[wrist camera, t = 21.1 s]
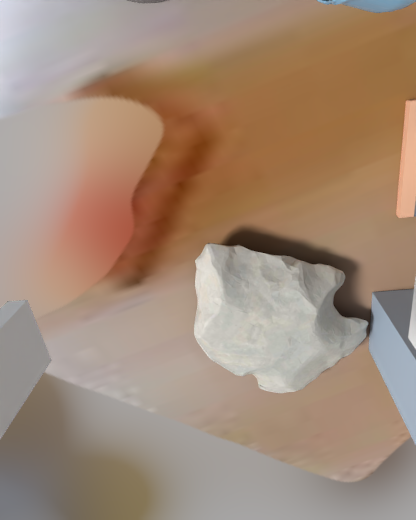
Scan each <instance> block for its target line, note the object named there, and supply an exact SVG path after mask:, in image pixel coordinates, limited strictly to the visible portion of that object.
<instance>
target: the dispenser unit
mask: <svg viewBox="0 0 416 520" xmlns="http://www.w3.org/2000/svg"><path fill="white" fill-rule="evenodd" d="M413 294H414V289H407V290H394V291H381V292H372V307H371V321H370V336H369V351H370V353H371V355H372V357H373V359H374V361H375V363H376V365H377V367H378V369H379V371H380V373H381V375H382V377H383V379H384V381H385V383H386V386H387V388H388V390H389V392H390V394H391V396H392V398H393V400H394V402H395V404H396V406H397V408H398V410H399V412H400V414H401V416H402V418H403V420H404V422H405V424H406V426H407V428H408V430H409V432H410V434H411V436H412V438H413V440H414V442H415V445H416V349H415V348H414V346H413V345H412V343H411V342H410V340H409V339H408V335H409V327H410V318H411V310H412V302H413Z"/></svg>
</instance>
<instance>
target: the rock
mask: <svg viewBox="0 0 416 520" xmlns="http://www.w3.org/2000/svg"><path fill="white" fill-rule="evenodd" d="M195 263H196V267H197V271H196V278H195V288H196V293H197V298H198V306H197V312H196V318H195V323H194V334H195V337H196V339H197V342H198V343H199V345H200V346H201V348H202V349H203V350H204V352H205V353H206V354H207V355H208V357H209V358H210V359H211V360H212V361H214V362H216V363H218V364H219V365H221V366H222V367H224V368H225V369H227V370H229V371H230V372H232V373H234V374H235V375H239V376H245V375H247V374H253V375H254V376H255V377H256V378H257V380H258V385H259V388H261V389H263V390H265V391H270V392H275V393H285V392H294V391H297V390H301V389H303V388H304V387H305V386H306V385H308V384H309V383H310V382H311V381H313V380H314V379H316V378H317V377H318V376H319V375H320V373H322V372H323V371H324V370H325V369H327V368H330V367H332V366H334V365H335V364H336V362H337V361H338V360H339V359H341V358H343V357H345V356H347V355H349V354H351V353H352V352H353V351H354V350H355V349H356V348H357V347H358V345H359V344H360V343H361V342H362V341H363V340H364V339H365V337H366V328H367V326H368V324H369V323H368V322H367V321H365V320H362V319H359V318H346V317H343V316H341V315H340V314H339V313H338V311H337V310H336V309H335V307H334V305H333V298H334V294H335V292H336V291H337V290H338V289H339V288H340V287H341V286H342V285H343V283H344V280H345V274H344V272H342V271H341V270H339V269H336V268H334V267H332V266H330V265H323V264H309V263H307V262H304V261H301V260H298V259H295V258H293V257H291V256H285V255H283V256H278V255H270V254H265V253H260V252H256V251H251V250H249V249H246V248H244V247H242V246H240V245H235V246H225V245H220V244H215V243H208V244H206V245H205V247H204V249H203V251H202V253H201V255H200V256H199V257H198V258H197V259H196V260H195ZM269 308H270V309H269Z"/></svg>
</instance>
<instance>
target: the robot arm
mask: <svg viewBox="0 0 416 520" xmlns="http://www.w3.org/2000/svg"><path fill="white" fill-rule="evenodd" d="M128 1H132V2H138V3H156V2H161V1H165V0H128ZM317 1H319V2H321V3H323V4H334V5H337V4H343V5H347V6H351V7H354V8H358V9H362V10H365V11H369V12H374V13H381V12H391V11H395V10H398V9H402V8H405V7H407V6H409V5H411V4H413V3H414V2H416V0H317ZM408 339H409V340H410V342H411V343H412V345H413V346H414V348H415V349H416V278H415V286H414V294H413V302H412V310H411V318H410V327H409V335H408ZM50 362H51V358H50V355H49V353H48V350H47V348H46V345H45V343H44V340H43V338H42V335H41V333H40V330H39V328H38V325H37V323H36V320H35V318H34V315H33V313H32V310H31V308H30V306H29V303H28V300H19V301H8V302H7V303H5V304H4V305H3V306H2V307H1V308H0V439H1V437H2V436H3V434H4V433H5V431H6V430H7V428H8V427H9V425H10V423H11V422H12V420H13V419H14V417H15V416H16V414H17V413H18V411H19V410H20V408H21V407H22V405H23V403H24V402H25V400H26V399H27V397H28V396H29V394H30V393H31V391H32V390H33V388H34V386H35V385H36V383H37V382H38V380H39V379H40V377H41V375H42V374H43V373H44V371H45V370H46V368H47V366H48V365H49V363H50Z"/></svg>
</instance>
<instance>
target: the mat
mask: <svg viewBox="0 0 416 520" xmlns="http://www.w3.org/2000/svg"><path fill="white" fill-rule="evenodd" d="M396 215H397V216H398V217H399V218H404V217H414V216H416V99H414V100H406V109H405V120H404V131H403V142H402V153H401V164H400V176H399V187H398V198H397V209H396Z"/></svg>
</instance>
